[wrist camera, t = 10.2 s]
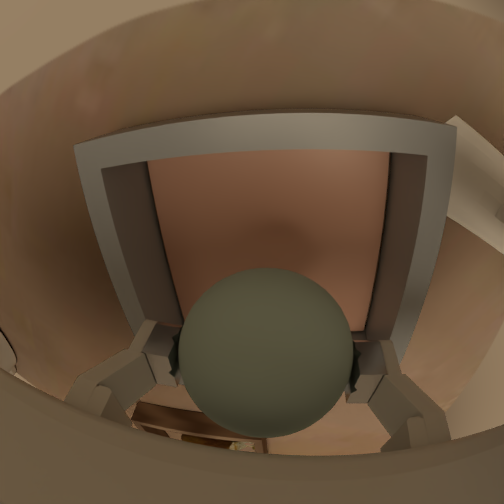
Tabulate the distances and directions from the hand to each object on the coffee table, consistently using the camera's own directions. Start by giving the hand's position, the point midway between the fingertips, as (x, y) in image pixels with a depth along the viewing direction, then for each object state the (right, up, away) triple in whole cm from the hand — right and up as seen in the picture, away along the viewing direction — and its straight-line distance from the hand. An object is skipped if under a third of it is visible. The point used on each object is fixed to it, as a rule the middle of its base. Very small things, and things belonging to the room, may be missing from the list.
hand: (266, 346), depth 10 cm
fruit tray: (-6, -18, +19) cm, 27 cm away
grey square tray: (0, +3, +5) cm, 6 cm away
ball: (0, 0, 0) cm, 0 cm away
